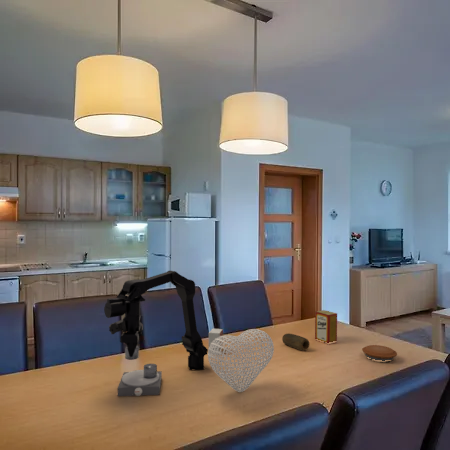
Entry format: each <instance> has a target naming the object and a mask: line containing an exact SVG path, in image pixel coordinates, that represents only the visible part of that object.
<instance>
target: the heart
mask: <svg viewBox="0 0 450 450" xmlns="http://www.w3.org/2000/svg"><path fill="white" fill-rule="evenodd" d="M256 338H257V339H256ZM218 340H219V342H218V343H217V341H218ZM215 341H216V342H215ZM220 341H221V343H220ZM219 344H220V345H221V344H222V345H223V346H222V345H221V346H220V345H219ZM213 345H214V346H215V347H214V346H213ZM217 346H218V347H217ZM274 346H275V345H274V342H273V340H272V338H271V336H270V335H269V334H268V333H267V332H266V331H264V330H261V329H257V328H250V329H247V330H245V331H243V332H241V333H240V334H239V335H236V336H235V335H228V334H223V336H219V337H218V338H216V339H214V340H213V341H212V343H211V344H210V346H209V345H208V348H209V349H208V348H207V349H208V352H207V360H208V362H209V365H210V368H211V369H212V371H213V372H214V373H215V374H216V375H217V376H218V377H219V378H220V379H221V380H223V381H224V382H225V383H226V384H227V385H228V386H229V387H230V388H231V389H233V390H234V391H236V392H238V393H242V392H244V391H246V390H247V389H249V387H250V385H252V383H253V382H254V381H255V380H256V379H257V377H258V376H259V375H260V374H261V372H262V371H264V369H265V368H266V367H267V366H268V364H270V362H271V360H272V359H273V356H274V351H275V347H274ZM213 348H215V349H214V350H213ZM216 348H217V351H215V350H216ZM219 348H221V349H220V352H219V351H218V349H219ZM222 348H223V350H222ZM256 348H257V349H256ZM209 350H210V352H209ZM221 350H222V351H221ZM215 352H216V354H215ZM210 353H211V354H210ZM218 353H219V355H218ZM228 358H229V359H228ZM255 359H256V360H255ZM235 372H236V373H235Z"/></svg>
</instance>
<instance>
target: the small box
mask: <svg viewBox="0 0 450 450" xmlns="http://www.w3.org/2000/svg"><path fill="white" fill-rule="evenodd" d="M223 333H224V329H221V328H211V330H210V331H209V332H208V347H207V349H209V346H210V344H211V343H212V341H213V340H214V339H216V338H218V337H219V336H224V334H223ZM215 342H216V341H215ZM218 342H219V340H218V341H217V343H218ZM220 343H221V341H220ZM219 345H220V344H219ZM221 345H222V344H221ZM221 345H220V346H221ZM223 345H224V344H223ZM223 345H222V346H223ZM213 346H214V345H213ZM214 347H215V346H214ZM217 347H218V346H217ZM223 347H224V346H223ZM214 349H215V348H213V350H214ZM220 349H221V348H219V349H218V351H219V352H220ZM223 350H224V349H223V348H222V350H221V352H223ZM215 351H217V348H216V350H215ZM209 352H210V350H209ZM210 354H211V353H210ZM215 355H216V352H215ZM218 355H219V353H218ZM219 356H220V355H219Z"/></svg>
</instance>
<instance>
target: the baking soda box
mask: <svg viewBox="0 0 450 450" xmlns="http://www.w3.org/2000/svg"><path fill="white" fill-rule="evenodd" d="M314 316H315V321H314V324H315V326H314V328H315V329H314V340H315V339H318V340H321V341H324V342H327V343H329V342H333V341H337V340H338V313H337V312H333V311H330V310H326V309H323V310H316V311H315V315H314ZM337 342H338V341H337Z"/></svg>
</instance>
